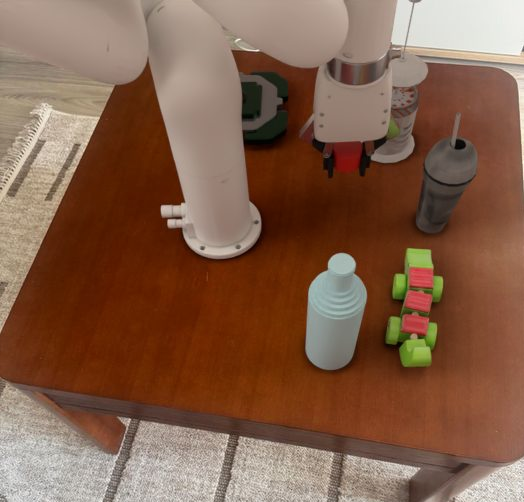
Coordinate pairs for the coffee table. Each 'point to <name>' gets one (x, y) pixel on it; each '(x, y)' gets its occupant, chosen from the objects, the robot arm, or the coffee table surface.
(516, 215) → the coffee table surface
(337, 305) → the bottle
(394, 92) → the french press
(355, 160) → the cap
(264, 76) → the four-lobed dark green device
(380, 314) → the coffee table surface
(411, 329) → the toy crocodile
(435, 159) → the beverage cup
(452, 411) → the coffee table surface
